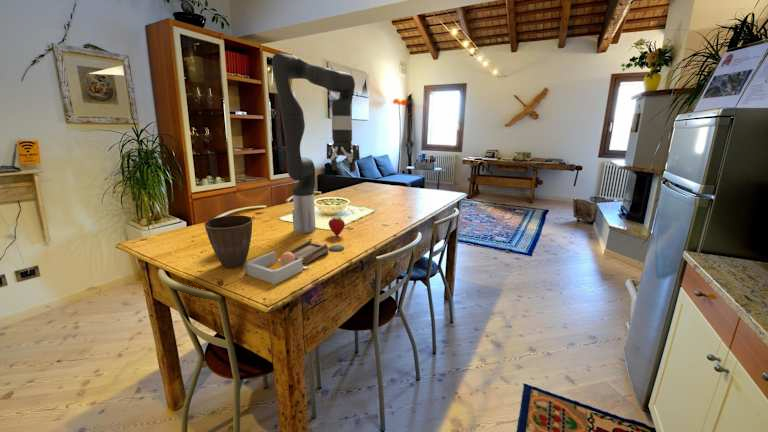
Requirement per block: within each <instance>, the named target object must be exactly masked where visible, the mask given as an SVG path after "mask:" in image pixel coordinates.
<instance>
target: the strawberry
mask: <svg viewBox="0 0 768 432" xmlns="http://www.w3.org/2000/svg"><path fill="white" fill-rule="evenodd" d="M338 215H339V214H337V217H336V216H335V217H334V216H333V217H332V218H331V219H329V221H328V226H329V229H330V230H331V232H333V234H334V235H335V236H339V235H340V234H341V233H342V232H343V230H344V229H345V225H346V224H345V221H344V219H343V218H342V217H341V216H338Z"/></svg>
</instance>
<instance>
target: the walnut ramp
mask: <svg viewBox="0 0 768 432" xmlns="http://www.w3.org/2000/svg"><path fill="white" fill-rule="evenodd" d="M287 252H291V253H293V254H294V256H295V261H296V260H298V259H302V264H306V265H307V264H308V263H310V262H312V261H314V260H315V259H317V258H318V257H320V256H321V255H325V256H328V255H329V246H328V244H327V243H324V244H321V243H316V242H312V240H311V239H309V240H307V241H305V242H303V243H301V244H300V245H298V246H296V247H294V248H291V250H288V251H287Z"/></svg>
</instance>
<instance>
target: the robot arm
mask: <svg viewBox="0 0 768 432" xmlns="http://www.w3.org/2000/svg"><path fill="white" fill-rule="evenodd" d="M271 69H272V70H271V71H272V74H273V79H274V83H275V87H276V91H277V97H278V102H279V109H280V117H281V124H282V129H283V136H284V144H285V156H286V157H285V158H286V160H285V161H286V169H287V174H288V176H289V177H290V179H291V180H294V181H297V183H296V185H295V186H293V188H292V203H293V209H292V222H293V223H292V225H293V226H292V227H293V231H295V232H296V233H298V234H309V233H313V232H315V231H316V230H317V229H316V212H315V209H316V208H315V194H314V193H315V192H314V190H315V188H316V167H315V163H314V161H313V160H312V159H311V158H309V157H302V154H301V143H302V140H303V136H304V133H305V128H306V125H305V124H306V123H305V115H304V111H303V108H302V106H301V105H300V103H299V101H298V100H297V98H296V97H295V95H294V94H293V92H292V89H291V87H290V86H291V85H290V82H289V80H295V79H296V80H297V79H298V80H299V79H302V80H307V81H308V82H309V83H310V84H313V85H315V86H318V87H322V88H324V89H326V90H327V91H331V92H335V93H339V96H338V98H337V99H334V100H332V103H331V111H332V112H331V114H332V115H331V116H332V117H331V118H332V119H331V133H332V134H331V135H332V141H333V143H326V160H329V161H330V165H331V167H330V168H331V170H332V171H337V170H338V161H337V160H338V158H339V157H340V156H343V157H346V159H348V165H349V168H348V169H349V171H348V172H349V173H354V172H355V171H356V162H358V161H360V158H361V157H360V145H359V144H353V143H352V142H353V121H352V109H351V108H352V101H353V97H354V92H355V87H356V86H355V85H356V83H355V78H354V76H353V75H352V74H351V73H349V72H344V71H339V70H332V69H330V68H328V67H325V66H322V65H321V66H320V65H317V64H311V63H308V62H306V61H305V60H303V59H302V58H299V57H298V56H296V55H292V54H286V53H280V52H277V53H275V54H273V56H272V59H271Z"/></svg>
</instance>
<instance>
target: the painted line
mask: <svg viewBox="0 0 768 432" xmlns="http://www.w3.org/2000/svg"><path fill="white" fill-rule="evenodd" d="M277 261H278V262H281V260H280V258H277ZM302 268H303V269H305V270H306V269H308V268H309V267H308V266H304V265H302Z"/></svg>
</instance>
